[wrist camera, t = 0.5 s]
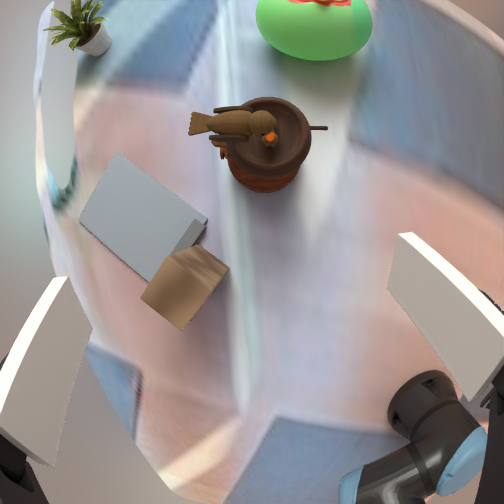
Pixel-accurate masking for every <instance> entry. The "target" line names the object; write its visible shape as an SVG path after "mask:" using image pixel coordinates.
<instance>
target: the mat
mask: <svg viewBox="0 0 504 504" xmlns="http://www.w3.org/2000/svg"><path fill="white" fill-rule="evenodd" d="M78 220H79V221H80V222H81V223H82V224H83V225H84V226H85V227H86V228H87V229H88V230H89V231H91V232H92V233H93V234H94V235H95V236H96V237H97V238H98V239H99V240H100V241H101V242H103V243H104V244H105V245H106V246H107V247H108V248H109V249H110V250H112V251H113V252H114V253H115V254H116V255H117V256H118V257H120V258H121V259H122V260H123V261H124V262H125V263H127V264H128V265H129V266H130V267H131V268H132V269H134V270H135V271H136V272H137V273H138V274H140V275H141V276H142V277H143V278H144V279H146V280H147V281H148V282H149V283H150V282H151V280H152V278H153V277H154V275H155V274H156V272H157V271H158V269H159V267H160V266H161V264H162V263H163V261H164V260H165V258H166V257H167V256H169V255H172V254H174V253H177V252H179V251H182V250H184V249H187V248H190V247H192V246H193V245H194V244H195V242H196V241H197V239H198V238H199V236H200V235H201V234H202V232H203V231H204V229H205V228H206V226H205V225H204V224H205V222H206V221H207V218H206V217H204V216H203V215H202V214H200V213H199V212H198V211H196V210H195V209H194V208H192V207H191V206H190V205H188V204H187V203H186V202H184V201H183V200H181V199H180V198H179V197H177V196H176V195H175V194H173V193H172V192H171V191H169V190H168V189H167V188H165V187H164V186H163V185H161V184H160V183H159V182H157V181H156V180H155V179H153V178H152V177H151V176H149V175H148V174H146V173H145V172H144V171H142V170H141V169H140V168H138V167H137V166H136V165H134V164H133V163H132V162H130V161H129V160H128V159H126V158H125V157H124V156H122V155H121V154H120V153H118V152H116V154H115V155H114V157H113V158H112V160H111V162H110V163H109V165H108V166H107V168H106V170H105V171H104V173H103V175H102V176H101V178H100V180H99V182H98V183H97V185H96V187H95V189H94V190H93V192H92V194H91V196H90V198H89V200H88V201H87V203H86V205H85V207H84V209H83V211H82V213H81V215H80V217H79V219H78Z"/></svg>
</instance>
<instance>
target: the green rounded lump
mask: <svg viewBox="0 0 504 504" xmlns="http://www.w3.org/2000/svg"><path fill="white" fill-rule="evenodd" d="M256 22H257V26H258V28H259V30H260V32H261V34H262V36H263V37H264V38H265V40H266V41H267V42H268V43H269V44H270V45H272V46H273V47H274V48H276V49H277V50H279V51H281V52H282V53H285V54H287V55H289V56H292V57H296V58H300V59H305V60H314V61H326V60H334V59H339V58H343V57H346V56H349V55H351V54H353V53H355V52H357V51H358V50H359V49H361V48H362V47H363V46H364V45H365V44H366V43H367V41H368V39H369V38H370V35H371V32H372V17H371V13H370V10H369V8H368V6H367V4H366V3H365V1H364V0H259V1H258V4H257V7H256Z"/></svg>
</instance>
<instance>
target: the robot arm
mask: <svg viewBox="0 0 504 504" xmlns="http://www.w3.org/2000/svg"><path fill="white" fill-rule="evenodd" d="M387 290H388V291H389V292H390V293H391V295H392V296H393V297H394V298H395V299H396V301H397V302H398V303H399V305H400V306H401V307H402V308H403V310H404V311H405V312H406V313H407V315H408V316H409V317H410V319H411V320H412V321H413V322H414V324H415V325H416V326H417V328H418V329H419V330H420V332H421V333H422V334H423V336H424V337H425V338H426V340H427V341H428V343H429V344H430V345H431V347H432V348H433V349H434V351H435V352H436V354H437V355H438V356H439V358H440V359H441V361H442V362H443V364H444V365H445V366H446V368H447V369H448V371H449V372H450V374H451V375H452V377H453V378H454V380H455V381H456V383H457V384H458V386H459V387H460V389H461V390H462V392H463V393H464V395H465V397H466V398H467V400H468V401H469V402H470V401H471V400H473V399H475V398H476V397H478V396H479V395H481V394H482V393H483V392H484V391H485V390H486V388H487V387H488V386H489V384H490V383H491V382H492V384H493V385H494V387H493V388H492V389H491V391H490V392H489V393H488V394H487V396H486V397H485V398H484V399H483V400H482V402H481V405H480V407H483V406H484V405H485V404H486V403H487V402H488V400H489V399H490V402H489V403H488V404H487V406H486V408H488V409H490V413H489V426H488V435H487V433H486V432H485V429H484V427H482V426H481V425H480V424H479V423H478V422H477V421H476V420H475V419H474V418H473V416H472V415H471V414H470V413H469V412H468V411H467V410H466V409H465V408H464V407H463V406H462V405H461V403H460V402H459V401H458V398H457V395H456V391H455V388H454V385H453V383H452V381H451V379H450V378H449V377H448V376H447V375H446V374H445V373H443V372H441V371H437V370H432V371H427V372H424V373H421V374H419V375H417V376H415V377H413V378H412V379H410V380H409V381H408V382H407V383H405V384H404V385H403V386H402V387H401V388H400V389H399V390H398V392H397V393H396V394H395V396H394V397H393V399H392V400H391V402H390V405H389V408H388V420H389V422H390V424H391V426H392V427H393V429H394V430H395V431H397V432H398V433H399V434H401V435H402V436H404V437H405V438H407V439H408V440H410V442H411V443H410V444H408V445H406V446H404V447H402V448H400V449H398V450H397V451H395V452H393V453H391V454H389V455H387V456H385V457H383V458H380V459H378V460H376V461H374V462H372V463H369V464H367V465H366V464H365V465H362V466H361V467H360V468H358V469H356V470H354V471H352V472H350V473H347V474H346V475H344V476H343V477H342V479H341V481H340V484H339V491H338V496H339V504H426V503H425V501H424V499H425V498H427V497H428V496H430V495H432V494H434V493H435V492H436V493H437V494H438V495H440V496H447V495H449V494H452V493H454V492H456V491H458V490H459V489H461V488H462V487H464V486H465V485H466V484H467V483H468V482H469V481H471V480H472V479H473V478H474V477H475V476H476V475H477V474H478V472H479V471H480V470H481V469H482V467H483V469H482V475H481V479H480V483H479V488H478V492H477V496H476V499H475V503H474V504H504V311H503V310H502V311H501V308H500V307H499V306H498V305H497V304H494V301H493V300H492V299H491V298H490V297H489V296H488V295H487V294H486V293H485V292H483V291H481V290H480V289H478V288H476V287H475V286H474V285H473V284H472V283H471V282H470V281H469V280H467V279H466V278H465V277H464V276H463V275H462V274H461V273H460V272H459V271H458V270H457V269H455V268H454V267H453V266H452V265H451V264H450V263H449V262H447V261H446V260H445V259H444V258H443V257H442V256H441V255H439V254H438V253H437V252H436V251H435V250H433V249H432V248H431V247H430V246H429V245H427V244H426V243H425V242H424V241H423V240H421V239H420V238H419V237H418V236H416V235H415V234H414V233H413V232H408V233H401V234H398V237H397V243H396V248H395V253H394V258H393V263H392V268H391V273H390V277H389V281H388V286H387ZM92 330H93V328H92V326H91V324H90V322H89V320H88V318H87V316H86V314H85V312H84V310H83V308H82V306H81V304H80V302H79V299H78V297H77V295H76V293H75V291H74V288H73V286H72V284H71V281H70V279H69V277H68V276H64V277H56V278H53V280H52V281H51V283H50V284H49V286H48V287H47V289H46V290H45V292H44V293H43V295H42V297H41V298H40V300H39V302H38V303H37V304H36V306H35V308H34V309H33V311H32V313H31V314H30V316H29V318H28V320H27V321H26V323H25V325H24V326H23V328H22V330H21V332H20V334H19V335H18V337H17V339H16V341H15V343H14V345H13V347H12V349H11V351H10V352H9V353H8V354H7V356H6V357H5V358H4V359H3V360H2V362H1V363H0V504H49V503H48V501H47V499H46V497H45V495H44V493H43V491H42V489H41V487H40V485H39V483H38V480H37V478H36V476H35V474H34V472H33V469H32V467H31V466H30V464H29V463H28V462H27V461H26V457H27V456H29V457H30V458H32V459H33V460H34V461H36V462H38V463H40V464H43V465H46V466H50V467H54V468H55V464H56V458H57V453H58V448H59V442H60V438H61V433H62V429H63V425H64V420H65V416H66V412H67V408H68V405H69V401H70V397H71V394H72V390H73V386H74V383H75V380H76V377H77V373H78V370H79V367H80V364H81V361H82V358H83V355H84V352H85V349H86V346H87V343H88V341H89V338H90V335H91V332H92Z"/></svg>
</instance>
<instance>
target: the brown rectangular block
mask: <svg viewBox="0 0 504 504" xmlns="http://www.w3.org/2000/svg"><path fill="white" fill-rule="evenodd" d="M228 269H229V267H228V266H227V265H225V264H224V263H223V262H221V261H220V260H219V259H217V258H216V257H215V256H213V255H212V254H211V253H209V252H208V251H207V250H205V249H204V248H203V247H201V246H200V245H199V244H197V245H195V246H192V247H190V248H187V249H184V250H182V251H179V252H177V253H174V254H172V255H169V256H167V257H166V258H165V260H164V261H163V263H162V264H161V266H160V267H159V269H158V271H157V272H156V274H155V275H154V277H153V278H152V280H151V282H150V283H149V285H148V286H147V288H146V290H145V291H144V293H143V295H142V296H141V298H140V299H141V300H143V301H144V302H145V303H146V304H148V305H149V306H150V307H151V308H153V309H154V310H155V311H156V312H158V313H159V314H160V315H161V316H163V317H164V318H165V319H167V320H168V321H169V322H170V323H172V324H173V325H174V326H176V327H177V328H178V329H180V330H181V331H182V330H183V329H184V327H185V326H186V325H187V323H188V322H189V321H191V320H192V319H193V317H194V316H195V315H196V313H197V312H198V311H199V309H200V308H201V307H202V306H203V304H204V303H205V302H206V300H207V299H208V298H209V296H210V295H211V293H212V292H213V291H214V289H215V288H216V287H217V285H218V284H219V283H220V281H221V280H222V279H223V277H224V276H225V275H226V274H225V273H226V272H227V270H228Z"/></svg>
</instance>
